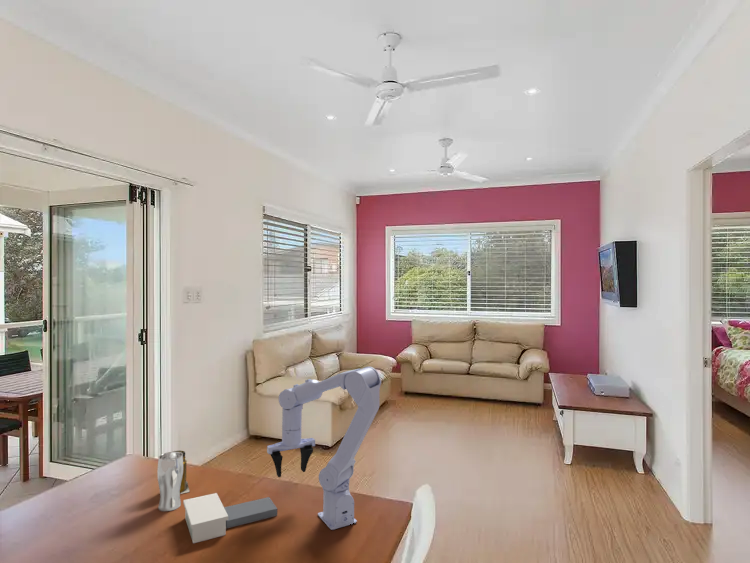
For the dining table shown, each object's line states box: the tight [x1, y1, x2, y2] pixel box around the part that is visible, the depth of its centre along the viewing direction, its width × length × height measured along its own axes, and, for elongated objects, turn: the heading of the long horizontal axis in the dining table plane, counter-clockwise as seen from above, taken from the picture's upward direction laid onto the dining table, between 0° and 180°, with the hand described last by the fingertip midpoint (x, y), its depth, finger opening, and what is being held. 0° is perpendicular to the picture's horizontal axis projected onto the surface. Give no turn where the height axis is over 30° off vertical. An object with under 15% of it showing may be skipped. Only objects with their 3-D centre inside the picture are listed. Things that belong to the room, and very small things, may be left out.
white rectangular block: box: [182, 492, 228, 544], centre depth 120 cm, size 15×9×5 cm, turn 31°
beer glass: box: [156, 451, 183, 512], centre depth 131 cm, size 7×7×15 cm
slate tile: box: [224, 496, 278, 529], centre depth 126 cm, size 8×14×2 cm, turn 120°
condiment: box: [172, 450, 190, 495], centre depth 142 cm, size 7×8×12 cm
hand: (291, 473), depth 133 cm, fingers open, 7 cm apart
